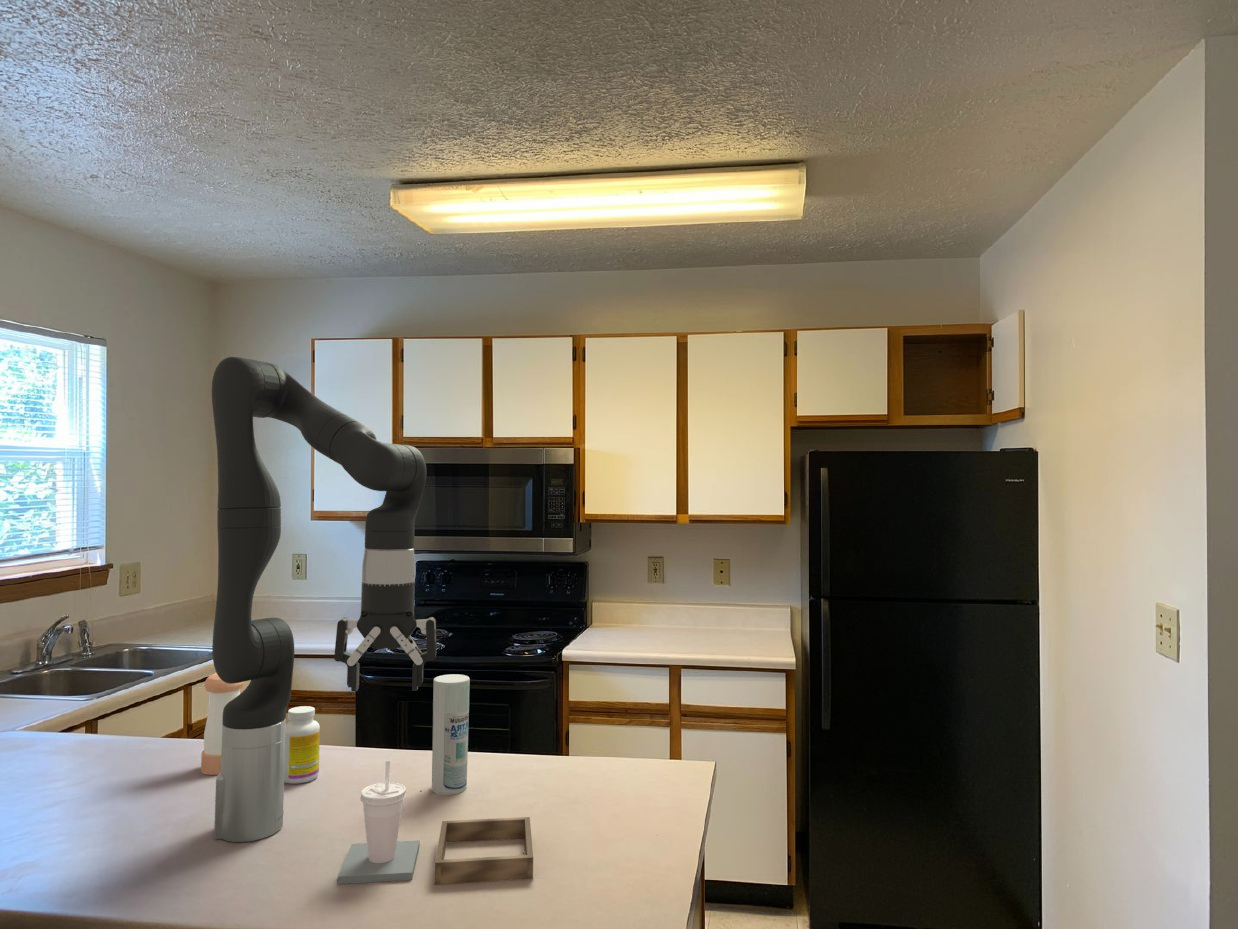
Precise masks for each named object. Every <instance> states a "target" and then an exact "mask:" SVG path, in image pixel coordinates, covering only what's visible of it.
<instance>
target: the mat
mask: <svg viewBox="0 0 1238 929" xmlns="http://www.w3.org/2000/svg"><path fill="white" fill-rule="evenodd" d="M420 845H421V844H420V840H419V839H417V840H402V841H401V840H399V841H398V840H397V846H396V853H395V857H394V859H392V860H391V861H388V862H385V863H373V862H370V861H369V858H368V848H367V842H362V843H361V842H360V843H351V845H350V847H349V849H348V852H347V854H346V857H345V859H344V861H343V864H342V866H341V869H340V871H339V873H338V876H337V885H343V884H344V885H345V884H358V883H359V884H360V883H377V882H381V883H382V882H395V881H411V880H413V877H414V873H415V868H416V864H417V859H418V855H419V850H420Z"/></svg>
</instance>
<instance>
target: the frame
mask: <svg viewBox="0 0 1238 929" xmlns="http://www.w3.org/2000/svg"><path fill="white" fill-rule="evenodd" d="M523 839H524V849H525V850H524V851H525V852H524V853H525V855H524V854H522V855H507V856H506V855H504V856H503V855H502V856H487V857H486V856H485V857H484V856H483V857H470V858H469V857H468V858H452V859H445V856H446V848H447V843H463V842H464V843H465V842H467V843H468V842H487V841H488V842H489V841H503V840H504V841H506V840H523ZM435 854H436V856H435V859H434V860H435V861H434V885H436V886H437V885H453V884H468V883H469V884H470V883H472V884H474V883H486V882H488V883H489V882H504V881H505V882H506V881H521V880H522V881H523V880H524V881H525V880H533V879H534V850H533V838H532V828H531V817H530V816H522V817H521V816H520V817H503V818H501V817H499V818H483V819H482V818H480V819H461V820H460V819H459V820H441V826H440V832H439V838H438V843H437V848H436V853H435Z"/></svg>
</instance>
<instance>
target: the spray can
mask: <svg viewBox="0 0 1238 929" xmlns="http://www.w3.org/2000/svg"><path fill="white" fill-rule="evenodd" d="M470 681H471V679H470V677H469V676H468V675H465V674H458V673H457V674H454V673H453V674H443V675H439V676H436V677H434V678H433V689H432V690H433V694H432V695H433V696H432V697H433V699H432V701H433V702H432V749H431V750H432V751H431V752H432V753H431V754H432V756H431V758H432V759H431V760H432V761H431V766H432V767H431V789H432V792H433V793H434V794H436V795H441V796H452V795H457V794H460V793H462V792H465V790H467V784H468V755H469V754H468V753H469V752H468V751H469V747H468V746H469V725H470V724H469V720H470V719H469V717H470V714H469V713H470V687H471V686H470V684H471V683H470Z"/></svg>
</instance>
